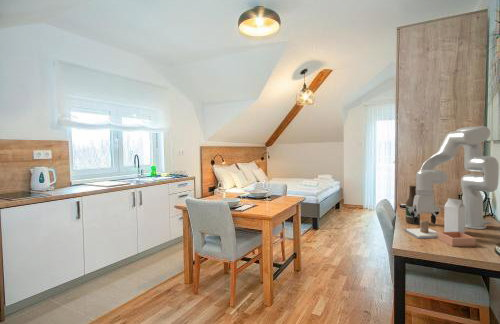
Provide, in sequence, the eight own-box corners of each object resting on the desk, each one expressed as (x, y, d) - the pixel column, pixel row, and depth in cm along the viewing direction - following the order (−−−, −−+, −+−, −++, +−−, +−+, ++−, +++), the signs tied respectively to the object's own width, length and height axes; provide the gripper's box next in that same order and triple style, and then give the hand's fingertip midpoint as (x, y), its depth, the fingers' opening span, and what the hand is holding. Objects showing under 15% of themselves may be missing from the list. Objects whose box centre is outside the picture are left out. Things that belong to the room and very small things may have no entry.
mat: (430, 229, 164) (430, 228, 164) (448, 238, 148) (448, 237, 148) (402, 230, 164) (402, 229, 164) (417, 238, 148) (417, 237, 148)
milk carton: (458, 235, 152) (458, 200, 152) (444, 231, 159) (444, 198, 158) (465, 232, 156) (465, 199, 155) (451, 229, 162) (451, 197, 161)
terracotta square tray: (459, 239, 146) (459, 231, 146) (475, 246, 135) (475, 238, 135) (437, 239, 146) (437, 231, 146) (452, 246, 135) (452, 238, 135)
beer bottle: (419, 225, 173) (419, 187, 172) (405, 223, 177) (405, 186, 176) (419, 222, 180) (419, 185, 179) (406, 220, 184) (405, 184, 183)
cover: (429, 229, 162) (429, 218, 162) (443, 236, 149) (443, 224, 149) (406, 230, 163) (406, 218, 162) (419, 237, 150) (419, 224, 149)
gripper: (435, 191, 158) (435, 221, 159) (404, 192, 159) (405, 221, 160) (444, 193, 151) (444, 224, 152) (412, 194, 151) (412, 225, 152)
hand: (424, 223), depth 156 cm, fingers open, 9 cm apart
